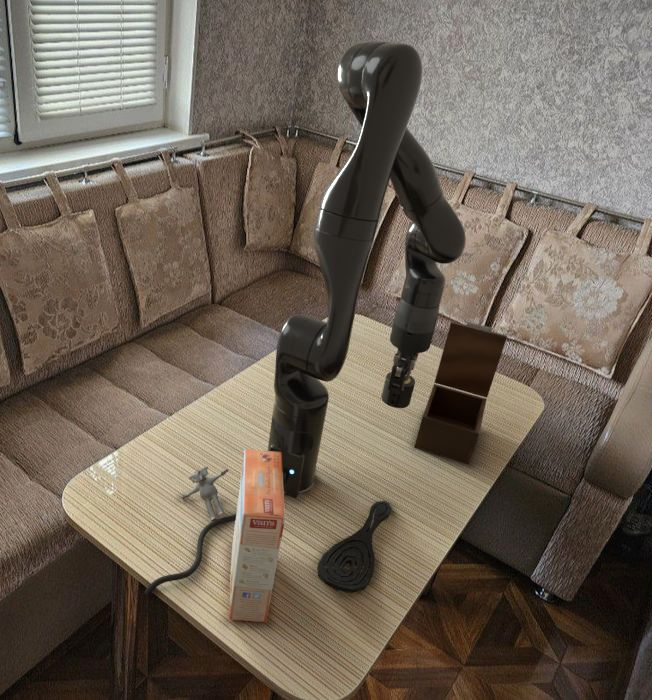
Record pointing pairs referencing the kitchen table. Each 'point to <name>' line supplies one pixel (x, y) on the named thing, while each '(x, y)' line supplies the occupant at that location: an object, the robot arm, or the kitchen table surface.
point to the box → (451, 424)
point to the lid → (470, 358)
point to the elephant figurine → (207, 490)
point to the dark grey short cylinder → (405, 393)
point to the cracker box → (256, 535)
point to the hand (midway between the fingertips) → (395, 397)
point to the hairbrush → (353, 555)
